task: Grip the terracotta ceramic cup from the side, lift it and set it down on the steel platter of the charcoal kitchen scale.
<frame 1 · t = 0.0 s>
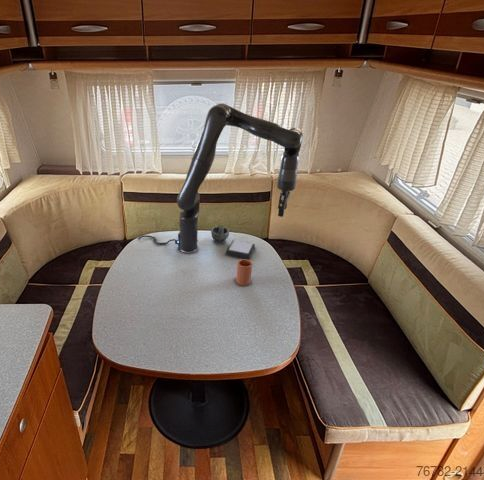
hand: (282, 212, 158), 29 cm above the table, tool pointing down, fingers open, 8 cm apart
cup: (243, 281, 163), on the table
scale: (240, 251, 185), on the table
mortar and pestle: (219, 242, 194), on the table
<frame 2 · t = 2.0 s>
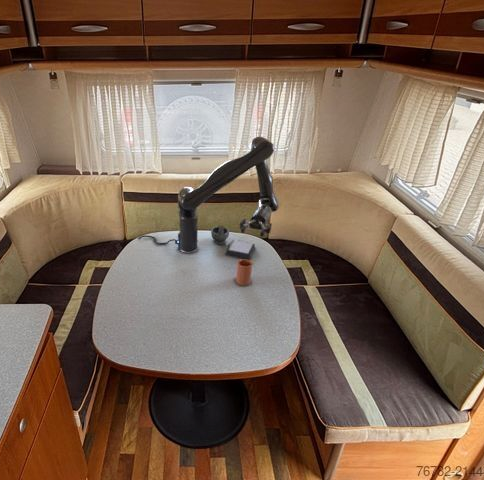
hand: (251, 233, 161), 20 cm above the table, tool horizontal, fingers open, 8 cm apart
nothing on the table moved.
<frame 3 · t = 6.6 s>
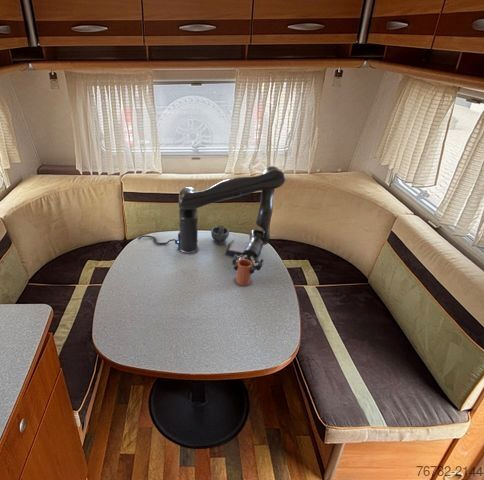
hand: (243, 270, 157), 8 cm above the table, tool horizontal, fingers closed on cup, 6 cm apart
cup: (243, 281, 163), on the table, touching gripper
everything else where it was.
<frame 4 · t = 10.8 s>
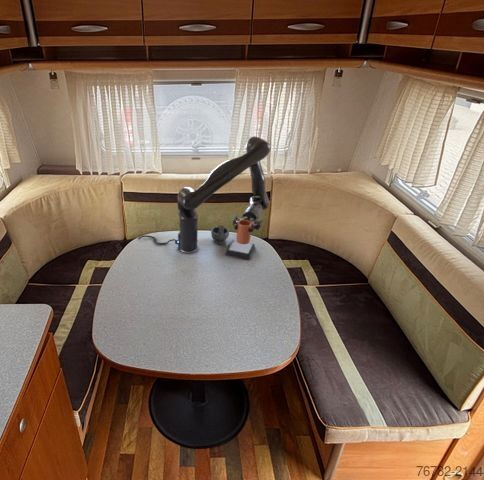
hand: (242, 229, 166), 19 cm above the table, tool horizontal, fingers closed on cup, 6 cm apart
cup: (243, 241, 172), point 11 cm above the table, touching gripper
everything else where it was.
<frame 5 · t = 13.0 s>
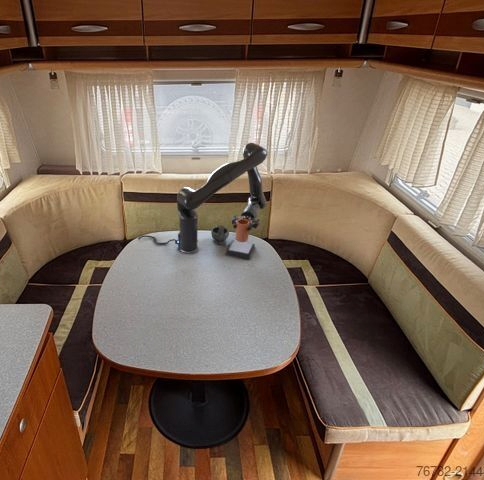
hand: (241, 228, 176), 15 cm above the table, tool horizontal, fingers closed on cup, 6 cm apart
cup: (241, 239, 182), point 7 cm above the table, touching gripper
everything else where it was.
when the fingers open (11 cm above the table, at t = 14.8 s): cup stays where it is, resting on scale.
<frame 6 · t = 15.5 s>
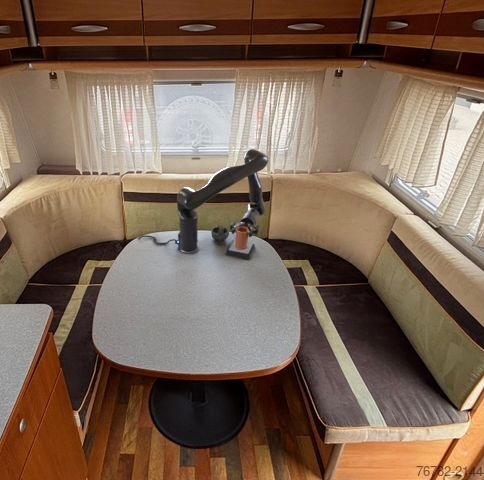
hand: (241, 234, 178), 11 cm above the table, tool horizontal, fingers open, 8 cm apart
cup: (241, 246, 184), point 3 cm above the table, touching scale
everything else where it was.
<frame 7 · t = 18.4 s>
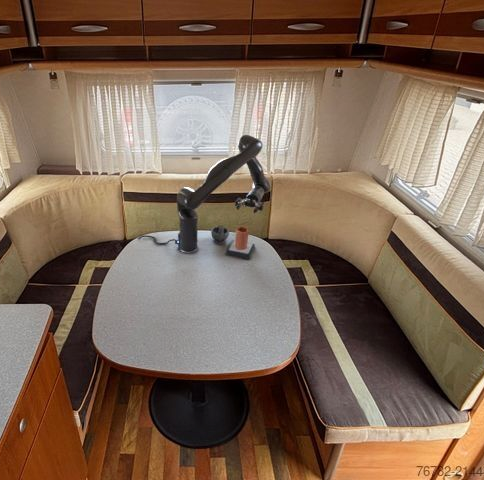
hand: (246, 209, 179), 22 cm above the table, tool horizontal, fingers open, 8 cm apart
nothing on the table moved.
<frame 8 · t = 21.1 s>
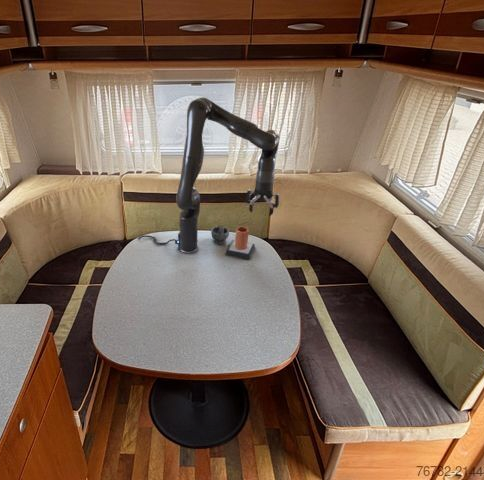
hand: (260, 213, 160), 28 cm above the table, tool pointing down, fingers open, 8 cm apart
nothing on the table moved.
at the end: cup inside the target area on the scale (0.1 cm from its centre), point 3.0 cm above the scale's base; cup tilted 0°; the gripper is holding nothing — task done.
